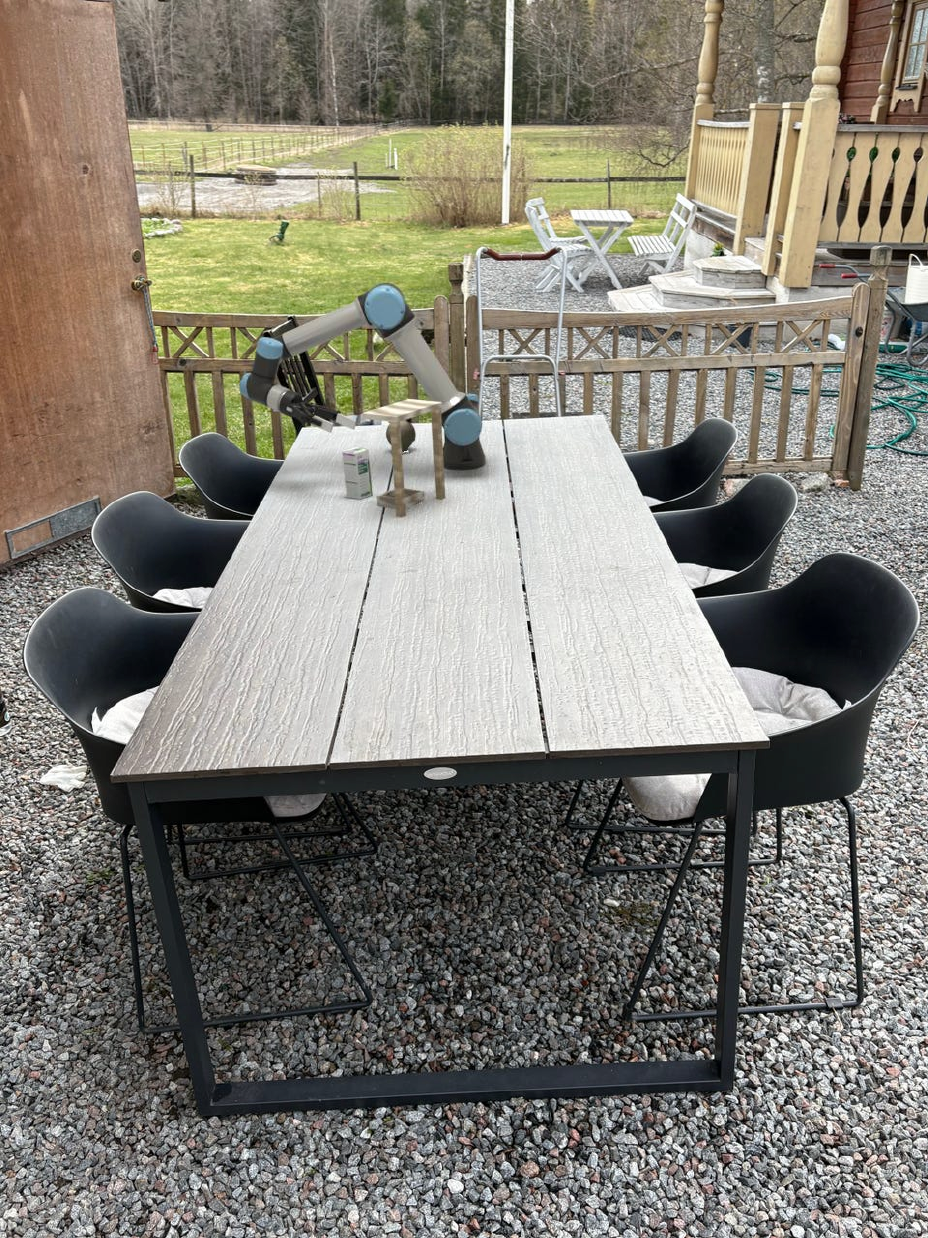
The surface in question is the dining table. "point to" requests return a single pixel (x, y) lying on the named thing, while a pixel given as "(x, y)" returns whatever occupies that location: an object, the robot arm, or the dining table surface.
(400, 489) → the awning stand
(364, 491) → the syrup box
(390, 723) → the dining table surface
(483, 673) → the dining table surface
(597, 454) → the dining table surface
